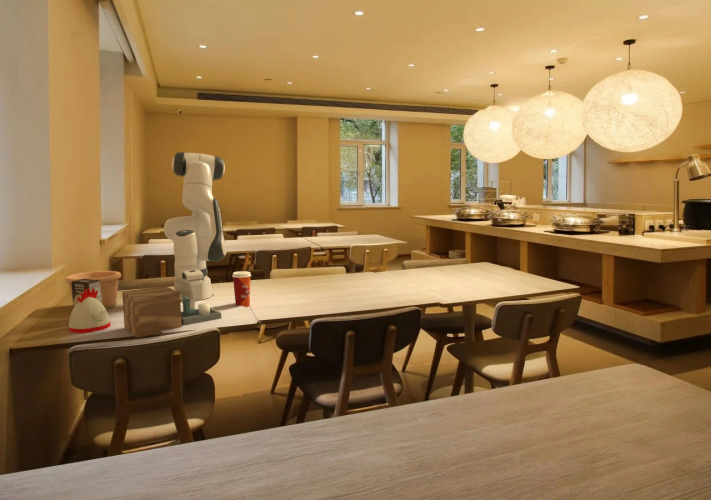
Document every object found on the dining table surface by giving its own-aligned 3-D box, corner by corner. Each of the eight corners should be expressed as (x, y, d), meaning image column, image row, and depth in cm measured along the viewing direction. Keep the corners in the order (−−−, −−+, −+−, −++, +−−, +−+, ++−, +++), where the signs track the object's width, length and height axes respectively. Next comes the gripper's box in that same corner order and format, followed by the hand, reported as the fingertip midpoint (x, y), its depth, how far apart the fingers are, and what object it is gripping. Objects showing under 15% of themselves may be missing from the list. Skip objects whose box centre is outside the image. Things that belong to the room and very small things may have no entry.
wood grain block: (124, 327, 186) (122, 291, 184) (167, 320, 196) (165, 285, 194) (136, 337, 174) (134, 299, 172) (181, 329, 184) (179, 292, 182)
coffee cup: (247, 308, 215) (246, 274, 213) (230, 307, 216) (228, 274, 214) (255, 304, 223) (254, 271, 221) (238, 303, 224) (237, 270, 222)
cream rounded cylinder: (197, 316, 198) (196, 304, 197) (207, 315, 200) (207, 302, 200) (201, 319, 194) (200, 306, 194) (212, 317, 197) (211, 304, 196)
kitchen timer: (118, 325, 190) (115, 287, 188) (86, 335, 178) (83, 294, 176) (93, 321, 196) (90, 284, 194) (60, 330, 184) (57, 291, 182)
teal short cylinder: (181, 311, 193) (180, 298, 192) (192, 309, 196) (191, 297, 195) (185, 313, 190) (184, 300, 189) (196, 311, 192) (196, 299, 192)
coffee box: (73, 320, 197) (69, 281, 195) (86, 316, 203) (83, 278, 201) (90, 322, 194) (87, 282, 192) (104, 318, 200) (101, 279, 198)
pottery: (73, 303, 226) (71, 272, 225) (126, 299, 233) (124, 269, 231) (61, 314, 206) (58, 281, 204) (119, 310, 213) (117, 277, 211)
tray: (173, 320, 195) (172, 313, 195) (209, 314, 205) (209, 307, 204) (183, 327, 186) (183, 319, 186) (221, 320, 196) (221, 312, 195)
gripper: (169, 270, 197) (171, 303, 198) (188, 276, 181) (190, 313, 183) (185, 268, 201) (186, 301, 202) (205, 274, 185) (207, 310, 187)
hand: (188, 307), depth 192 cm, fingers closed on teal short cylinder, 4 cm apart
